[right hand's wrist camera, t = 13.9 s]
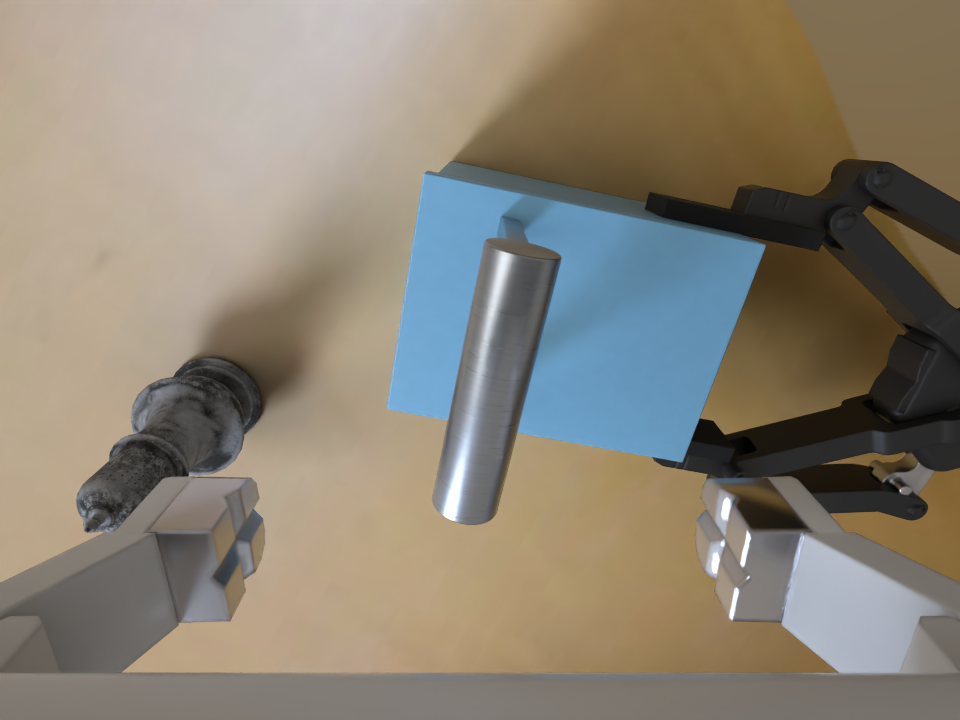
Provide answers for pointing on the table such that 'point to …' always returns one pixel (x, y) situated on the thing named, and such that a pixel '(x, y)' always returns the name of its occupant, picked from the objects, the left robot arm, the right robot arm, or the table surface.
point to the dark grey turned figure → (172, 438)
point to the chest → (558, 191)
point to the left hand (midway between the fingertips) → (621, 318)
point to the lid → (557, 329)
